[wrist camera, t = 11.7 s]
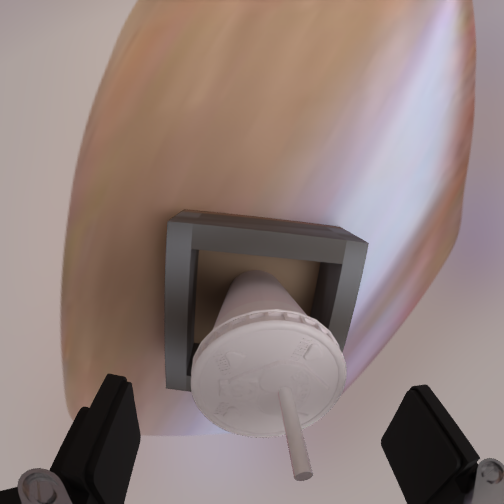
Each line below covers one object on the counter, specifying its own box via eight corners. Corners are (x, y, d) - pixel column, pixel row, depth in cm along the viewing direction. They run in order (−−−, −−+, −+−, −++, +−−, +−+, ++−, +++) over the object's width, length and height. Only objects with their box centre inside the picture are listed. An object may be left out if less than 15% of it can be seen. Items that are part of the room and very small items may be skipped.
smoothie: (296, 338, 22) (353, 507, 8) (206, 335, 21) (183, 514, 8) (307, 252, 20) (421, 391, 6) (208, 247, 19) (160, 399, 6)
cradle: (184, 209, 20) (167, 221, 15) (339, 226, 21) (368, 243, 16) (178, 348, 22) (166, 388, 18) (312, 358, 23) (327, 397, 18)
